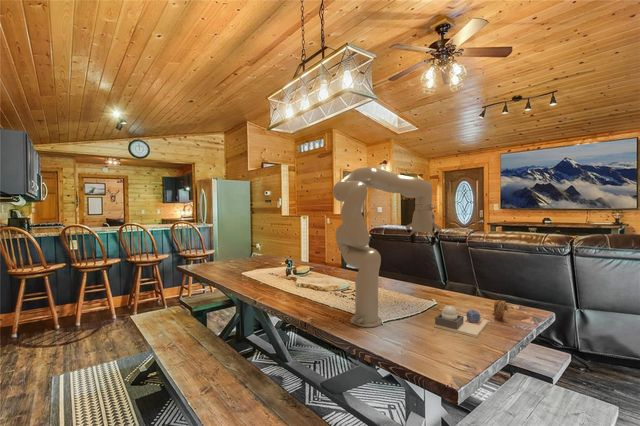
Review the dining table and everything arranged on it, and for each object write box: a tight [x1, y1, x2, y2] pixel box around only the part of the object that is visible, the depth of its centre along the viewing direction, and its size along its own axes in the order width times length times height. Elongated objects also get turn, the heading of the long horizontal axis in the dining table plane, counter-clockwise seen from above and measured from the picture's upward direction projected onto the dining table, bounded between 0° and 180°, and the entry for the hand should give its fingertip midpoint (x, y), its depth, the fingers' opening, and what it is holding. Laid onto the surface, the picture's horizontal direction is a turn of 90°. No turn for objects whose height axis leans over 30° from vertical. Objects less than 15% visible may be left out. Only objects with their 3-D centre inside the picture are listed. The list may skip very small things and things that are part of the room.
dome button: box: [441, 305, 458, 321], centre depth 132 cm, size 6×6×6 cm
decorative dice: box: [465, 309, 481, 323], centre depth 135 cm, size 4×4×4 cm
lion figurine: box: [492, 299, 510, 321], centre depth 142 cm, size 15×5×9 cm, turn 164°
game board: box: [434, 311, 489, 338], centre depth 134 cm, size 18×16×4 cm
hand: (422, 244), depth 155 cm, fingers open, 9 cm apart
